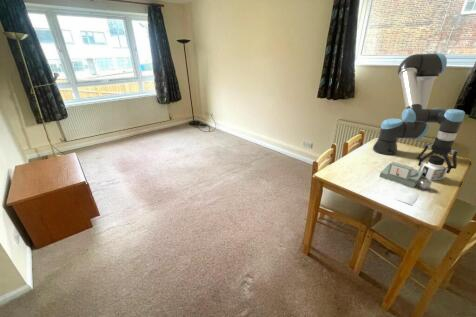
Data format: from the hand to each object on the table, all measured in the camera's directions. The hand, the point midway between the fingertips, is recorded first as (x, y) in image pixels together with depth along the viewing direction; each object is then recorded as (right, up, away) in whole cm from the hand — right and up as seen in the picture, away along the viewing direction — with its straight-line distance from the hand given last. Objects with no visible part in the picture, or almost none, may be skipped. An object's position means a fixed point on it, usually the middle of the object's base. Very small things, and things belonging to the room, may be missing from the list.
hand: (431, 174), depth 130 cm
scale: (-16, -2, +2) cm, 16 cm away
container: (0, -2, +1) cm, 2 cm away
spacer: (-12, -7, -9) cm, 16 cm away
